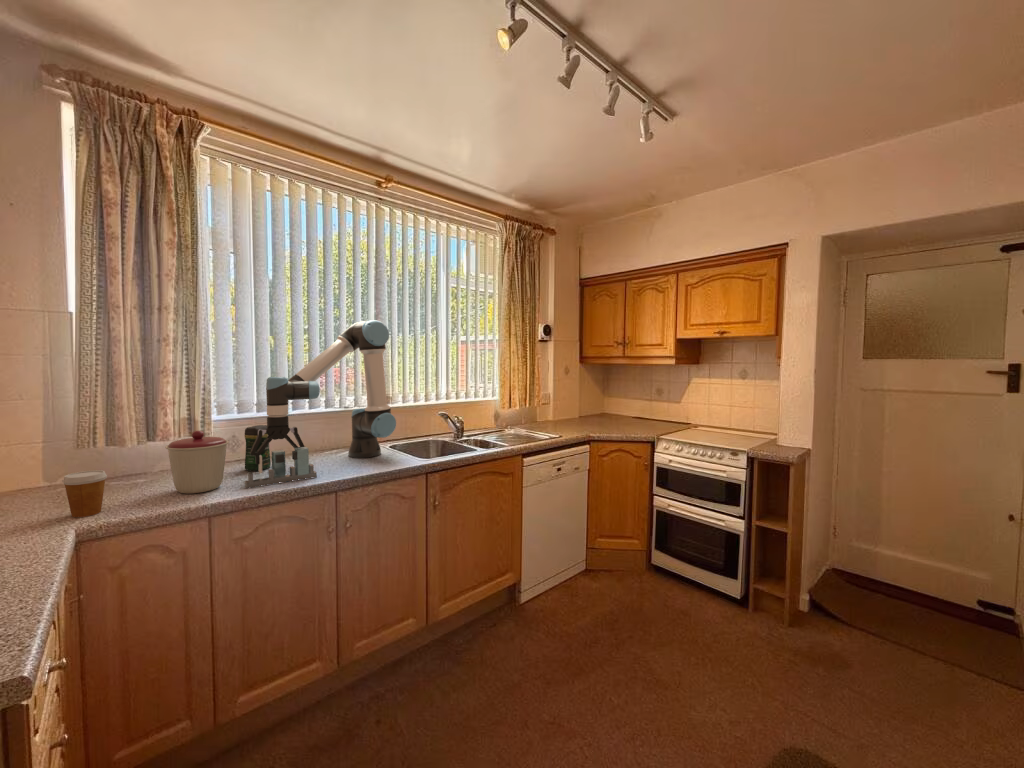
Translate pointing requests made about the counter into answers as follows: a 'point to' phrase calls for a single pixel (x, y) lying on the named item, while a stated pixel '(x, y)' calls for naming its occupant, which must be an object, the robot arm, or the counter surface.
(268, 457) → the coffee jar
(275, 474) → the grey rectangular block
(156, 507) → the counter surface
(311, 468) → the rail
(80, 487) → the disposable coffee cup
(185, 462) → the canister
